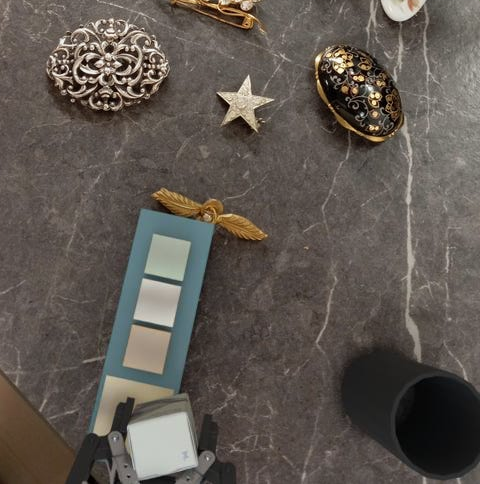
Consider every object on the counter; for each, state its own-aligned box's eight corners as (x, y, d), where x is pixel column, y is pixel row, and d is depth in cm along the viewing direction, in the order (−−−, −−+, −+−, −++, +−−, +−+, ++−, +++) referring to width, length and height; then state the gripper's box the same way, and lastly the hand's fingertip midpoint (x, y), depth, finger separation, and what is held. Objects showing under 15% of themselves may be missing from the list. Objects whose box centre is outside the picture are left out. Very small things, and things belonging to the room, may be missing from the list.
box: (188, 391, 84) (190, 408, 72) (197, 440, 83) (202, 466, 71) (132, 404, 83) (125, 424, 71) (141, 454, 82) (135, 483, 70)
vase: (384, 450, 117) (450, 503, 88) (324, 397, 118) (369, 432, 89) (431, 386, 120) (511, 417, 91) (372, 334, 121) (431, 349, 92)
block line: (158, 462, 89) (157, 470, 85) (89, 447, 89) (85, 455, 85) (205, 246, 95) (206, 244, 91) (140, 232, 95) (138, 230, 91)
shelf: (166, 431, 116) (161, 474, 89) (105, 418, 116) (82, 457, 89) (208, 238, 123) (214, 224, 95) (150, 226, 123) (141, 207, 95)
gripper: (240, 602, 61) (258, 400, 76) (32, 559, 61) (91, 364, 76) (220, 658, 65) (241, 455, 80) (24, 617, 65) (81, 422, 79)
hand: (168, 412), depth 78 cm, fingers closed on box, 6 cm apart
